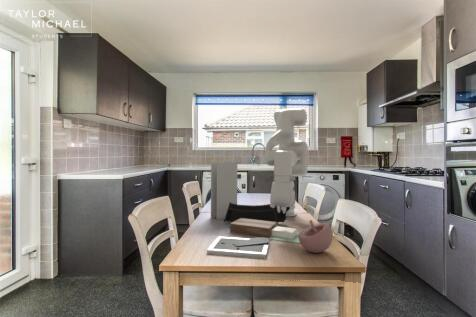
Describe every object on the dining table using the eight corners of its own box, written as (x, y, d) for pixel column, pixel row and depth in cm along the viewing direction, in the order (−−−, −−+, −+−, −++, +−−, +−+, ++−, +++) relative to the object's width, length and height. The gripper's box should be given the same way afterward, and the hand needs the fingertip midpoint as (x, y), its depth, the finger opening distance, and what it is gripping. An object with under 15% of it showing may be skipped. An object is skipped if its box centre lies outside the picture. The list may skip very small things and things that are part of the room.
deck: (240, 226, 136) (240, 217, 136) (276, 230, 128) (276, 222, 128) (229, 232, 125) (229, 223, 125) (268, 238, 117) (268, 228, 117)
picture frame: (269, 245, 111) (218, 241, 114) (269, 238, 111) (218, 234, 114) (265, 260, 95) (206, 255, 99) (266, 252, 95) (206, 247, 99)
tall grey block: (230, 214, 162) (231, 161, 161) (237, 215, 158) (237, 162, 157) (210, 217, 152) (211, 162, 151) (217, 219, 148) (217, 162, 147)
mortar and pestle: (295, 245, 108) (296, 216, 108) (327, 246, 108) (328, 216, 107) (300, 257, 96) (301, 224, 96) (336, 258, 96) (337, 225, 95)
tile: (276, 231, 126) (276, 226, 126) (296, 234, 122) (296, 228, 122) (271, 235, 120) (271, 230, 120) (292, 238, 116) (292, 232, 116)
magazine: (219, 205, 140) (277, 189, 138) (219, 204, 143) (276, 188, 142) (228, 238, 140) (287, 222, 139) (229, 236, 143) (286, 220, 142)
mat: (278, 230, 130) (278, 229, 130) (309, 233, 124) (309, 233, 124) (268, 239, 116) (268, 238, 116) (303, 244, 110) (303, 243, 110)
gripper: (302, 179, 121) (301, 221, 122) (268, 177, 127) (268, 217, 128) (298, 181, 114) (297, 225, 115) (263, 179, 120) (262, 221, 121)
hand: (282, 221), depth 122 cm, fingers closed
